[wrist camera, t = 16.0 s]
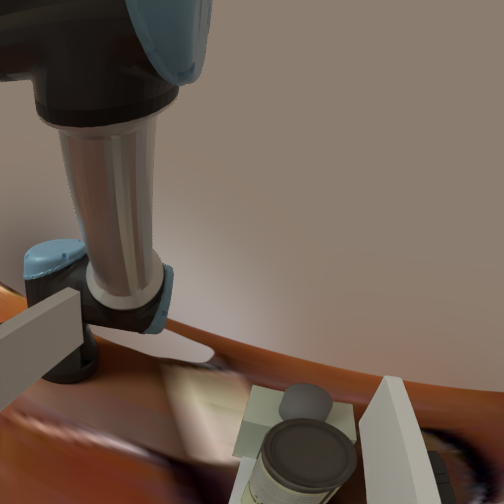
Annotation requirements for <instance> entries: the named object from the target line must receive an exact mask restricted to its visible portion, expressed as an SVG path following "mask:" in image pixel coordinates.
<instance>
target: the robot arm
mask: <svg viewBox="0 0 504 504" xmlns="http://www.w3.org/2000/svg"><path fill="white" fill-rule="evenodd" d="M211 9H212V0H0V82H7V81H18V80H31V81H32V82H33V89H34V97H35V104H36V110H37V114H38V116H39V118H40V120H42V122H44V123H45V124H47V125H48V126H51V127H53V128H56V129H58V133H59V140H60V145H61V151H62V156H63V162H64V167H65V172H66V176H67V181H68V185H69V190H70V194H71V198H72V202H73V206H74V209H75V213H76V217H77V220H78V224H79V228H80V231H81V235H82V238H83V241H84V242H83V241H80V240H76V239H57V240H51V241H47V242H43V243H40V244H38V245H36V246H34V247H32V248H31V249H30V250H28V252H27V253H26V255H25V257H24V279H25V288H26V297H27V304H28V309H27V310H25V311H23V312H21V313H19V314H18V315H16V316H14V317H12V318H11V319H9V320H7V321H5V322H3V323H0V412H1V411H2V410H3V409H4V408H5V407H7V406H8V405H9V404H10V403H11V402H12V401H14V400H15V399H16V398H17V397H18V396H19V395H21V394H22V393H23V392H24V391H25V390H26V389H28V388H29V387H30V386H31V385H32V384H34V383H35V382H36V381H37V380H38V379H40V378H41V377H42V378H44V379H46V380H48V381H51V382H55V383H74V382H78V381H81V380H83V379H86V378H87V377H89V376H90V375H92V374H93V373H94V372H95V371H96V369H97V368H98V366H99V362H100V356H99V348H98V345H97V343H96V340H95V338H94V336H93V334H92V332H91V329H90V327H89V325H88V324H91V325H97V326H103V327H108V328H114V329H120V330H125V331H132V332H138V333H139V334H158V333H160V332H162V330H163V329H164V327H165V324H166V320H167V314H168V309H169V305H170V300H171V293H172V286H173V276H174V275H173V274H174V273H173V268H172V267H170V266H168V265H166V264H164V263H162V262H161V260H160V258H159V256H158V254H157V253H156V252H155V251H154V250H153V249H152V195H153V191H152V190H153V166H154V165H153V164H154V147H155V132H156V120H157V115H159V114H160V113H162V112H163V111H164V110H166V109H167V108H169V107H170V106H171V105H172V104H173V103H174V102H175V100H176V99H177V96H178V92H179V86H183V85H185V84H190V83H193V82H195V81H196V80H197V79H198V77H199V76H200V74H201V70H202V67H203V63H204V58H205V53H206V44H207V36H208V33H209V27H210V18H211ZM359 430H360V437H361V445H362V454H363V463H364V473H365V483H366V495H367V504H457V503H456V499H455V496H454V492H453V489H452V485H451V484H450V479H449V476H448V475H447V473H448V472H447V469H446V466H445V463H444V461H443V459H442V458H441V457H440V456H439V454H438V453H437V452H436V451H427V450H426V447H425V444H424V441H423V438H422V435H421V432H420V429H419V426H418V423H417V420H416V417H415V414H414V411H413V408H412V405H411V403H410V400H409V397H408V394H407V392H406V389H405V386H404V384H403V381H402V379H401V378H400V377H393V376H386V375H385V376H384V378H383V380H382V382H381V383H380V385H379V387H378V389H377V391H376V393H375V395H374V397H373V398H372V400H371V402H370V404H369V406H368V407H367V409H366V411H365V413H364V414H363V416H362V418H361V420H360V421H359Z"/></svg>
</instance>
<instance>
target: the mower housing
mask: <svg viewBox="0 0 504 504" xmlns="http://www.w3.org/2000/svg"><path fill="white" fill-rule="evenodd" d="M295 418H309V419H315V420H319V421H323V422H325V423H328V424H330V425H332V426H334V427H336V428H337V429H339V430H340V431H342V432H343V433H344V434H345V435H346V436H347V437H348V438H349V439H350V440H351V442H352V443H353V445H354V444H355V442H356V441H357V439H356V431H355V422H354V414H353V407H352V404H346V403H340V402H333V401H332V398H331V397H330V395H329V394H328V393H327V392H326V391H325V390H323V389H322V388H320V387H318V386H315V385H312V384H307V383H298V384H294V385H291V386H289V387H288V388H287V389H286V390H285V392H282V391H277V390H273V389H268V388H264V387H260V386H256V385H253V386H252V389H251V393H250V396H249V399H248V403H247V406H246V410H245V413H244V416H243V420H242V423H241V427H240V430H239V434H238V437H237V441H236V444H235V447H234V451H233V454H232V456H235V457H239V458H242V459H241V463H240V466H239V470H238V473H237V477H236V480H235V484H234V487H233V491H232V494H231V497H230V501H229V504H240V500H241V496H242V494H243V492H244V490H245V488H246V485H247V483H248V481H249V478H250V476H251V474H252V471H253V469H254V466H255V463H256V461H257V458H258V456H259V453H260V451H261V447H262V443H263V440H264V437H265V435H266V434H267V432H268V431H269V430H270V429H271V428H272V427H273V426H275V425H276V424H278V423H280V422H283V421H286V420H289V419H295Z"/></svg>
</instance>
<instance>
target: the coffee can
mask: <svg viewBox="0 0 504 504" xmlns="http://www.w3.org/2000/svg"><path fill="white" fill-rule="evenodd" d="M356 465H357V453H356V450H355V447H354V445H353V443H352V442H351V440H350V439H349V438H348V437H347V436H346V435H345V434H344V433H343V432H342V431H340V430H339V429H337V428H336V427H334V426H332V425H330V424H328V423H325V422H323V421H319V420H315V419H309V418H295V419H289V420H286V421H283V422H280V423H278V424H276V425H275V426H273V427H272V428H271V429H270V430H269V431H268V432H267V434H266V435H265V437H264V440H263V443H262V447H261V451H260V453H259V456H258V458H257V461H256V463H255V466H254V469H253V471H252V474H251V476H250V478H249V481H248V483H247V485H246V488H245V490H244V492H243V494H242V496H241V500H240V504H326V503H327V502H328V501H329V500H330V499H331V497H332V496H333V495H334V494H335V493H336V491H337V490H338V489H339V488H340V487H341V485H342V484H344V483H345V482H346V481H347V480H348V479H349V478H350V477H351V475H352V474H353V472H354V471H355V468H356Z"/></svg>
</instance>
